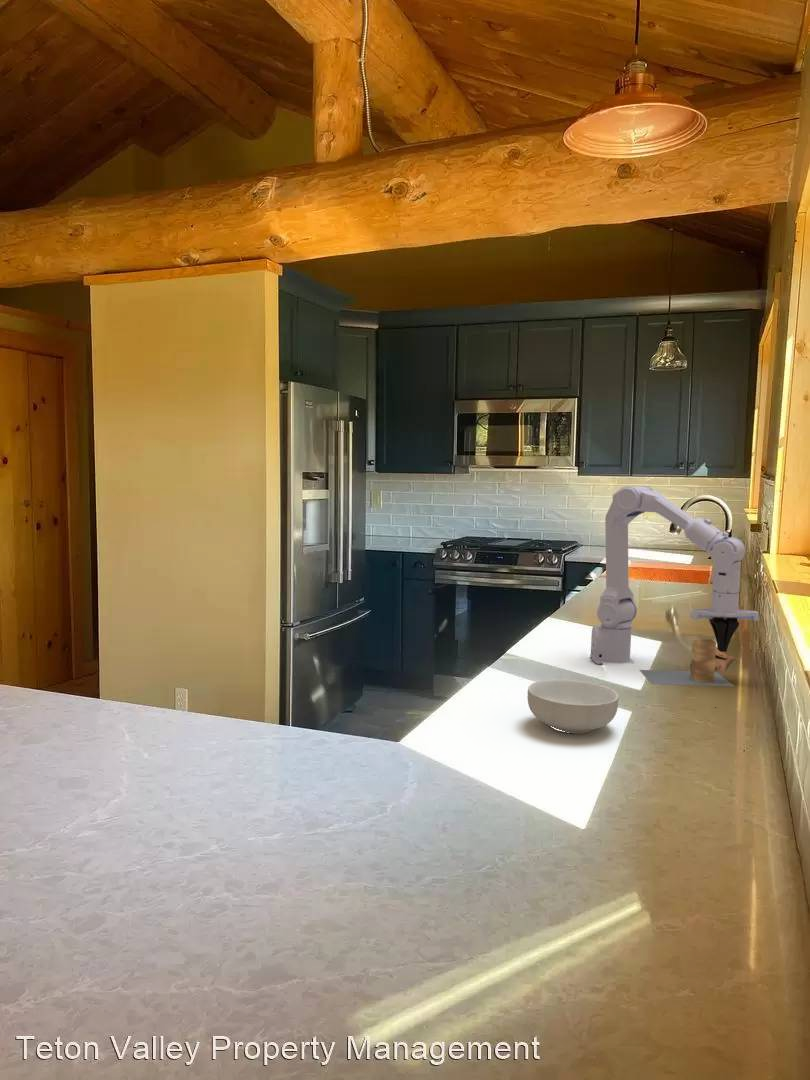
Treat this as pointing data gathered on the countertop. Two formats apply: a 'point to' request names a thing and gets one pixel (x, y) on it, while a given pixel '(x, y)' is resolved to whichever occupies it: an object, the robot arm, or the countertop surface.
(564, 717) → the cereal bowl
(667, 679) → the slate mat
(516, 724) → the countertop surface
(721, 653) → the sunglasses case
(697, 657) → the oak block
